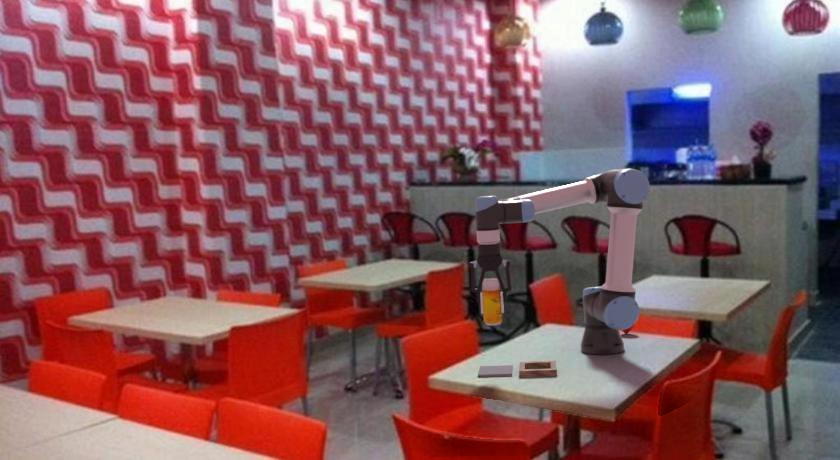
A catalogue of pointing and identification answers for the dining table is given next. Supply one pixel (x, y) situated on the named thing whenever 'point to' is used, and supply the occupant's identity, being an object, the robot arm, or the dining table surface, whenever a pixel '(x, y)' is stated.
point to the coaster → (495, 371)
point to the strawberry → (627, 330)
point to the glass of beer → (491, 301)
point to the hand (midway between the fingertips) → (492, 312)
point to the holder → (530, 370)
